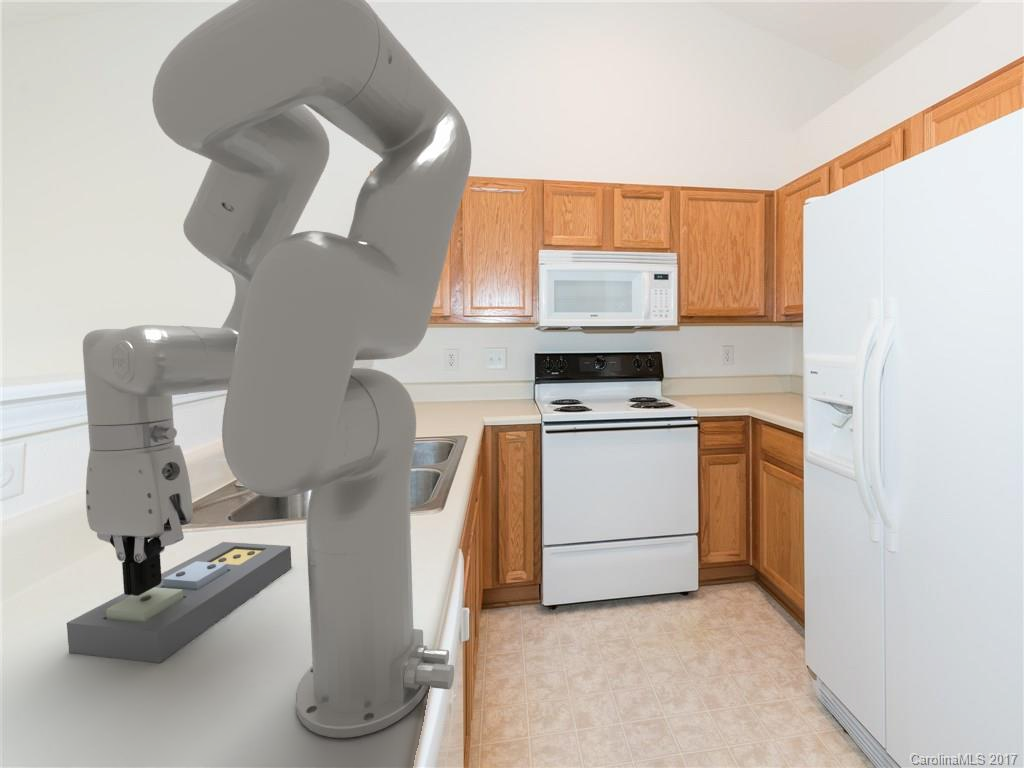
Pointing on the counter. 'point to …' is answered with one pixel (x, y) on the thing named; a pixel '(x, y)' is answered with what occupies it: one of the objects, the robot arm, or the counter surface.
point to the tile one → (144, 605)
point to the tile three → (237, 556)
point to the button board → (179, 608)
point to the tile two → (195, 575)
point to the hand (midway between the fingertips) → (143, 589)
